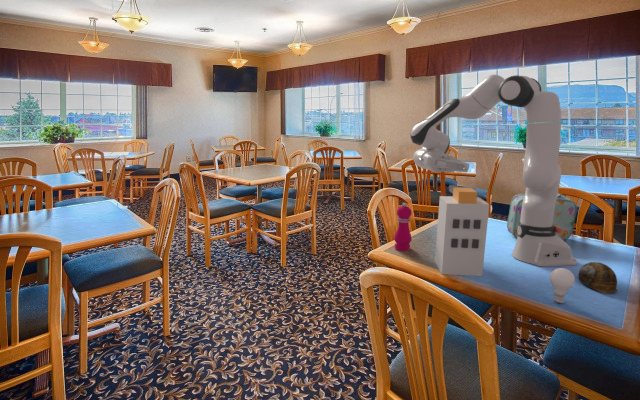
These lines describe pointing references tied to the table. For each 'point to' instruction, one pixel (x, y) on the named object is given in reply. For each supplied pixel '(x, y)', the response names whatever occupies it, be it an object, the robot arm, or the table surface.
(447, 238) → the cabinet
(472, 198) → the handle
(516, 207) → the lunch box
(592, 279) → the seashell
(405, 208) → the pepper mill
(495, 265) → the table surface
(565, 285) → the lightbulb
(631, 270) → the table surface
